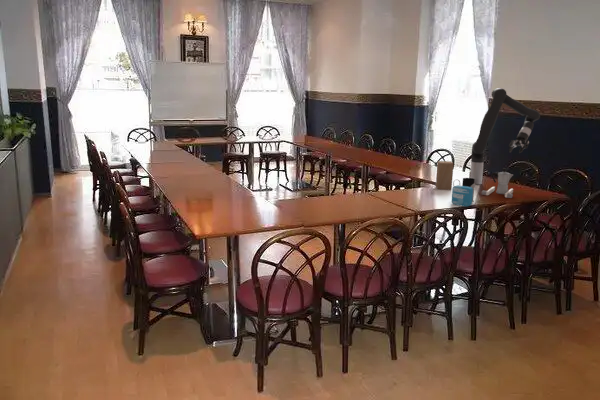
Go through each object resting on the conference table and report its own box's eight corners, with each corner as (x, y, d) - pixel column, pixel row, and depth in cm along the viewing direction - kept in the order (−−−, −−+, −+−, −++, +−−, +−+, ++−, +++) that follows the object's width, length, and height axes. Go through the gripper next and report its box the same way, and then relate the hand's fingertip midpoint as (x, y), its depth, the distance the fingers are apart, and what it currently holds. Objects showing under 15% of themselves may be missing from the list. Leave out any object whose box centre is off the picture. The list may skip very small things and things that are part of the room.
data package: (451, 204, 320) (452, 185, 317) (454, 202, 323) (455, 184, 320) (468, 207, 312) (470, 188, 309) (471, 205, 315) (473, 187, 312)
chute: (481, 194, 349) (481, 191, 349) (488, 189, 367) (488, 186, 367) (511, 198, 339) (511, 194, 338) (517, 192, 357) (517, 189, 356)
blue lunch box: (472, 202, 323) (474, 180, 320) (450, 200, 330) (452, 178, 327) (475, 200, 330) (477, 178, 327) (453, 197, 337) (455, 176, 334)
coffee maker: (511, 192, 356) (514, 168, 352) (511, 195, 349) (514, 169, 345) (489, 190, 362) (492, 166, 358) (488, 193, 355) (491, 168, 351)
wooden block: (448, 187, 374) (451, 161, 369) (451, 190, 364) (453, 163, 360) (435, 187, 375) (437, 161, 370) (437, 189, 365) (439, 162, 361)
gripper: (513, 131, 375) (504, 149, 372) (530, 131, 363) (520, 149, 360) (518, 137, 379) (508, 154, 376) (534, 137, 366) (525, 155, 363)
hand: (514, 152), depth 368 cm, fingers open, 8 cm apart
